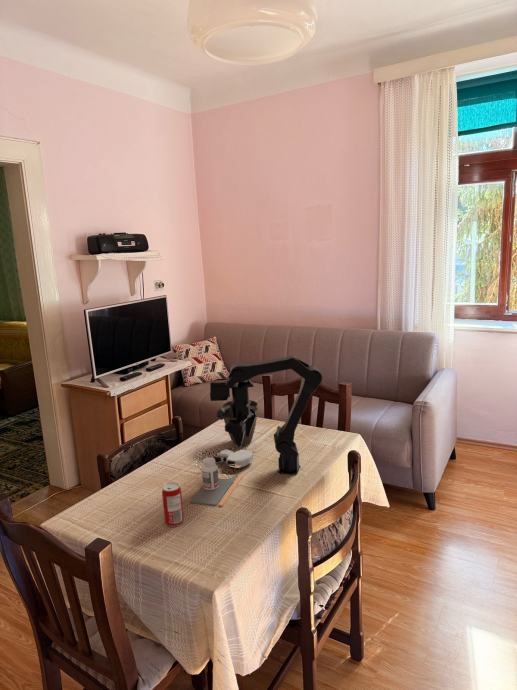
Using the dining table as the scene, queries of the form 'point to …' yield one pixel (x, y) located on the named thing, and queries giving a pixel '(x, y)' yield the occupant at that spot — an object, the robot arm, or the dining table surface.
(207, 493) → the mat
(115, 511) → the dining table surface
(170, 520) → the soda can
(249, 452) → the robot toy
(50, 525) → the dining table surface
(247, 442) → the plant pot
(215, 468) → the pill bottle
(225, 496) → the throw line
